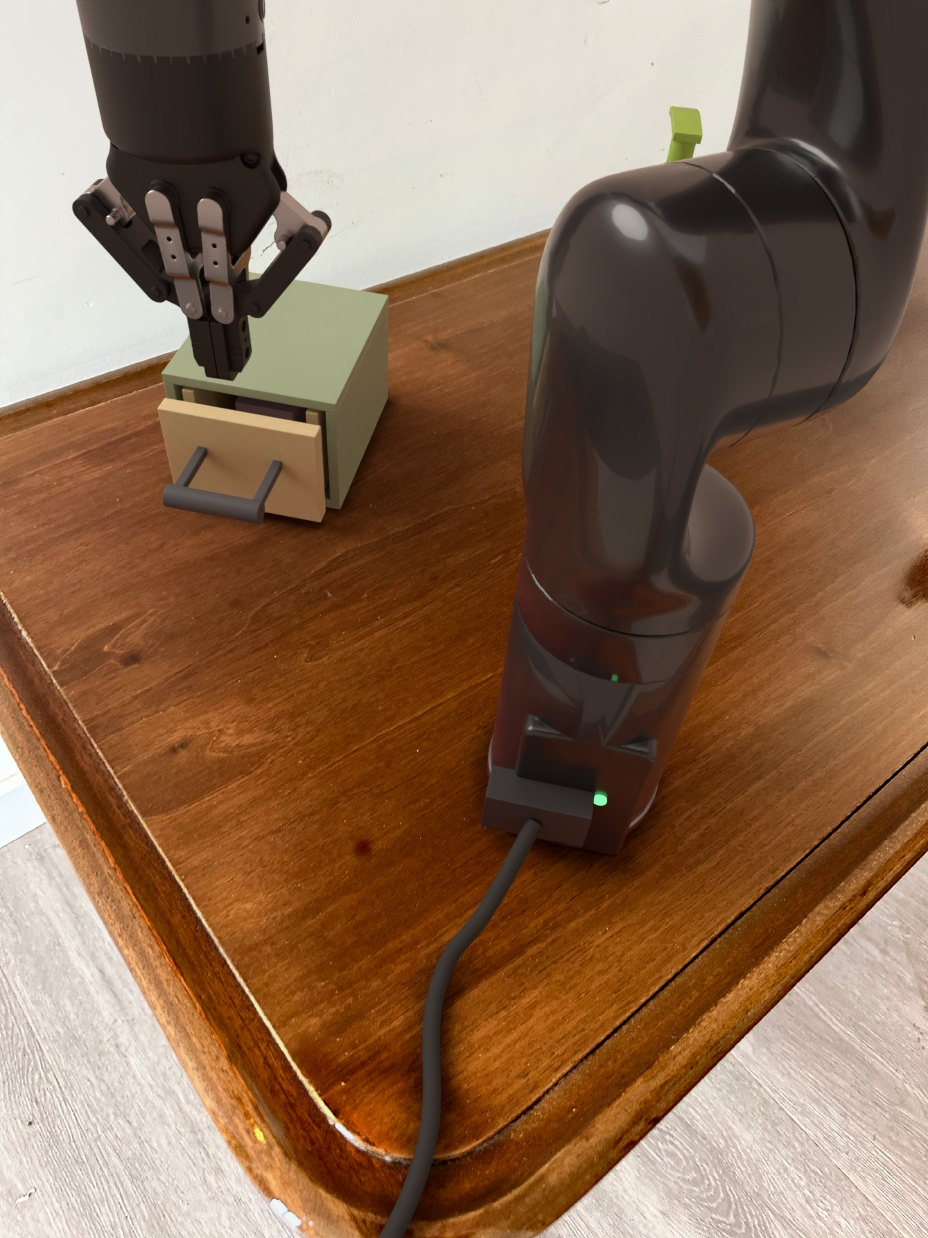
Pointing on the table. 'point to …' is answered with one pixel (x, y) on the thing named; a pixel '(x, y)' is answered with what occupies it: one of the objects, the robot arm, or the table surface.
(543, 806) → the robot arm
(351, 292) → the cabinet
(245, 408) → the lilac toy cube
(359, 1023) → the table surface
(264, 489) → the drawer
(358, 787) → the table surface
